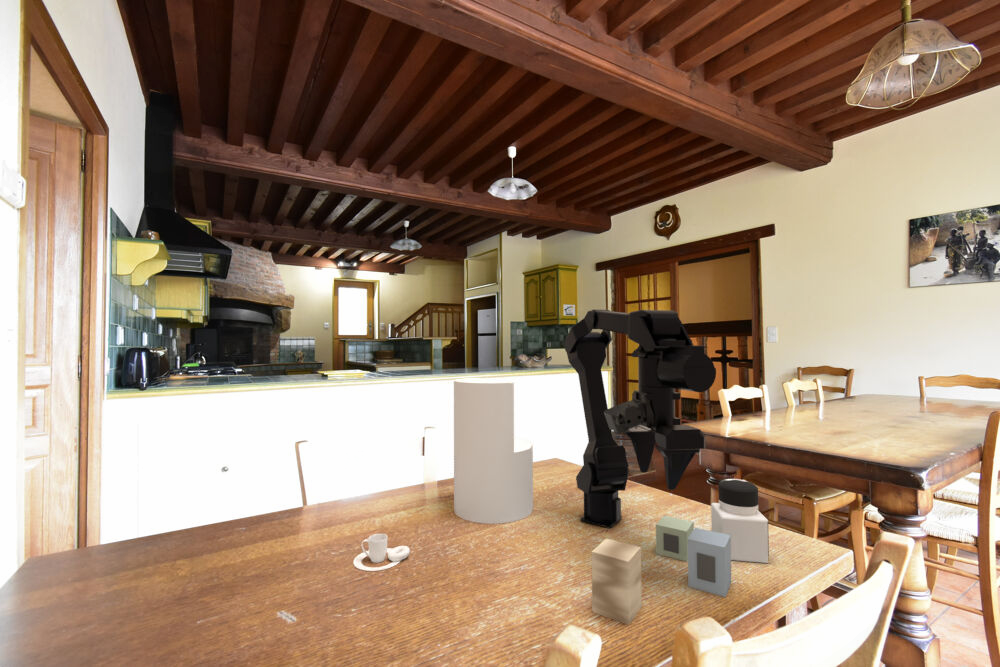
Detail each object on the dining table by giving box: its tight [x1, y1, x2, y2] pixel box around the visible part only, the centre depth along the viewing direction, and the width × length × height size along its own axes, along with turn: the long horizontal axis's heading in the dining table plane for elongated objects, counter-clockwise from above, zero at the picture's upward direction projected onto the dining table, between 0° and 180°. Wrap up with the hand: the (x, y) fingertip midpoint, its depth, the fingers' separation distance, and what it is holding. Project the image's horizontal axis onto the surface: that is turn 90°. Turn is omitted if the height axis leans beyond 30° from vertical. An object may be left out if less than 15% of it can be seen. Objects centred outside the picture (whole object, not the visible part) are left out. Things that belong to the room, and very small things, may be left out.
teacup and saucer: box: [352, 533, 411, 572], centre depth 76 cm, size 9×8×4 cm
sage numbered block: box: [655, 515, 695, 562], centre depth 78 cm, size 5×5×5 cm
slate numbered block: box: [687, 527, 732, 598], centre depth 68 cm, size 5×5×7 cm
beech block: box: [591, 538, 643, 626], centre depth 61 cm, size 5×5×8 cm
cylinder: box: [453, 377, 534, 525], centre depth 100 cm, size 17×17×28 cm
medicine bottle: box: [710, 478, 770, 564], centre depth 78 cm, size 7×7×12 cm
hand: (656, 480), depth 75 cm, fingers open, 9 cm apart
